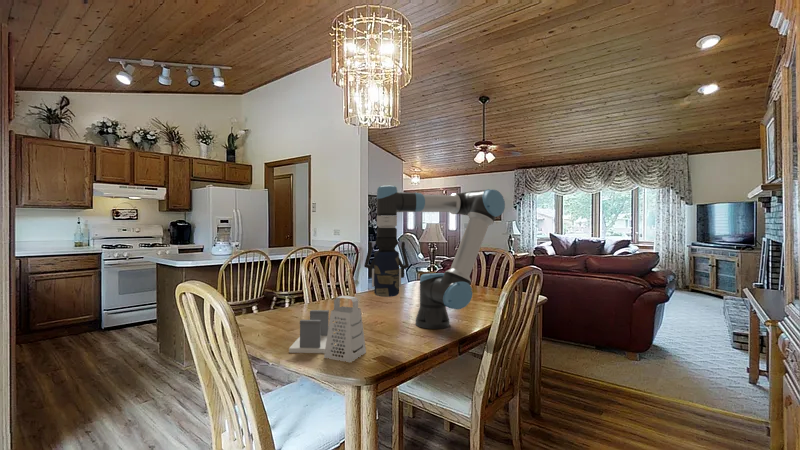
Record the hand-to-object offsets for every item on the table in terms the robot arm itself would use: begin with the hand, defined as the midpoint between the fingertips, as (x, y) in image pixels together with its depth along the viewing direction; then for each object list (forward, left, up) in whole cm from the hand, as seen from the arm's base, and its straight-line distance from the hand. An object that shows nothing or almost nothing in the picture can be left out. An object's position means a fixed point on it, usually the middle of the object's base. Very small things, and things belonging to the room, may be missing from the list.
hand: (386, 286), depth 143 cm
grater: (+13, +13, -22) cm, 29 cm away
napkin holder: (+26, +3, -22) cm, 34 cm away
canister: (0, 0, -4) cm, 4 cm away
